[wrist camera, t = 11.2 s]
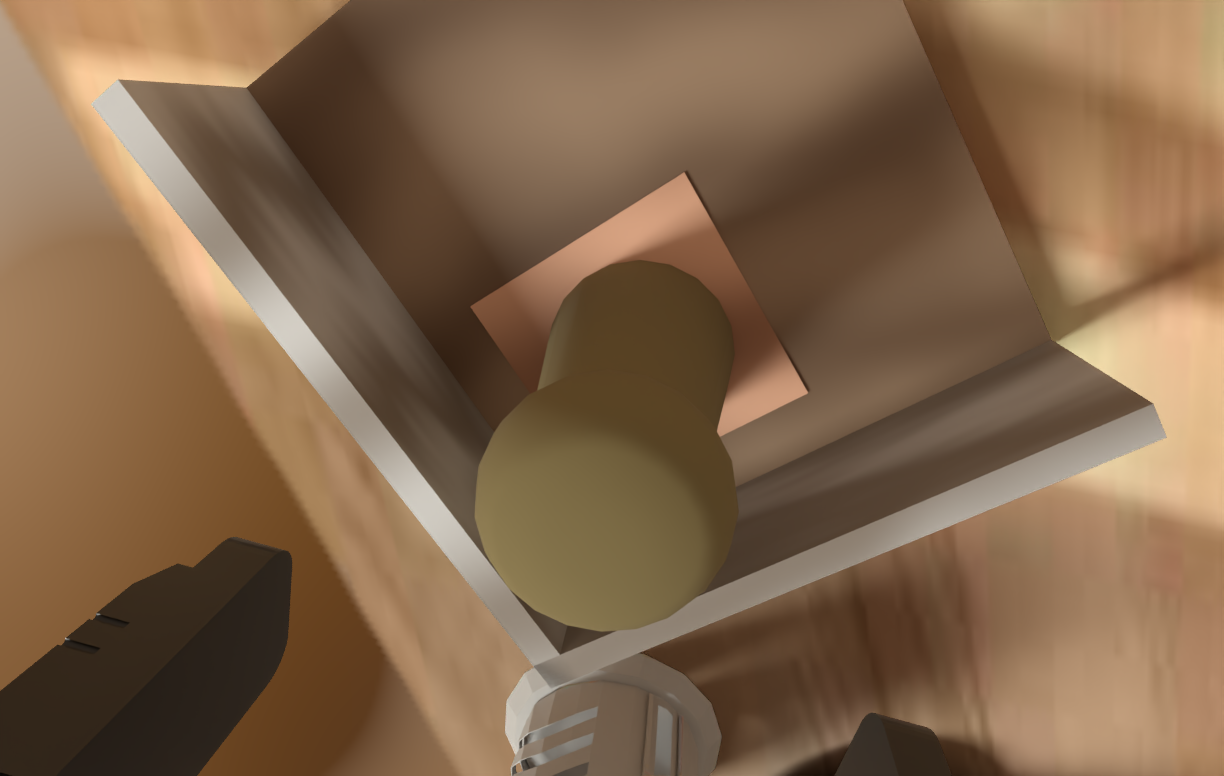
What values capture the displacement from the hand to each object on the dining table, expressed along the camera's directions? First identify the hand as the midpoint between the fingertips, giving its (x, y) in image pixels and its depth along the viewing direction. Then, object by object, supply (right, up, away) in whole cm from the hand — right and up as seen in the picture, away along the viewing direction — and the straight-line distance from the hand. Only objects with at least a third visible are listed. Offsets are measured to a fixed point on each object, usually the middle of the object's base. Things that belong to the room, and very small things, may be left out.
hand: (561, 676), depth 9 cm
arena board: (+2, +9, +13) cm, 16 cm away
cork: (+2, +5, +13) cm, 14 cm away
